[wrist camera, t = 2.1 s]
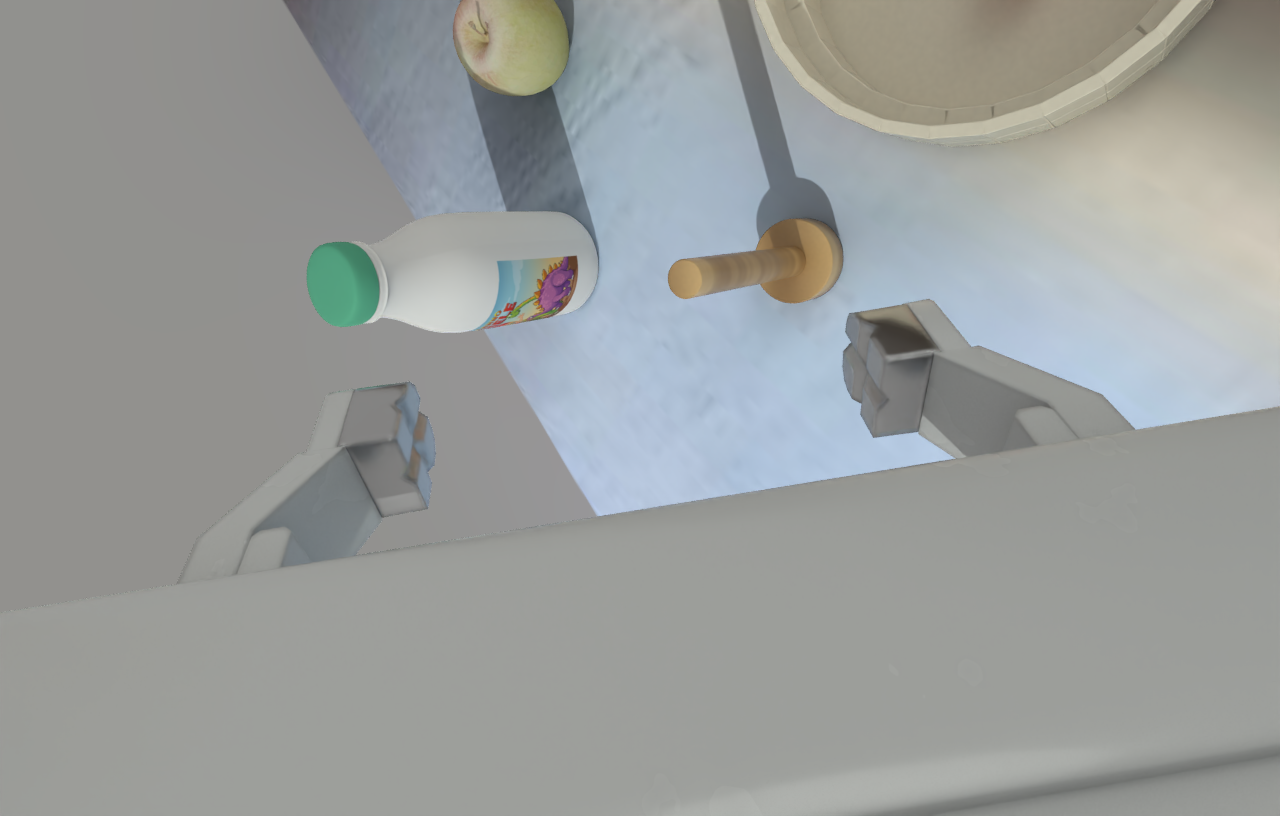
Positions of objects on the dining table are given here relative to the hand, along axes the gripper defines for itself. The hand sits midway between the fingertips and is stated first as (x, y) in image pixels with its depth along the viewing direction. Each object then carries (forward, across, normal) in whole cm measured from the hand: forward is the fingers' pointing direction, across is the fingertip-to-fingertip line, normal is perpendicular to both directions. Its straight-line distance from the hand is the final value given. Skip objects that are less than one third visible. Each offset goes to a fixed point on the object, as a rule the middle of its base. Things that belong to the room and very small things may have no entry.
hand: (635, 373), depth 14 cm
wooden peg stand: (+28, -12, +15) cm, 34 cm away
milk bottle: (+39, +3, +19) cm, 44 cm away
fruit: (+46, +2, +6) cm, 47 cm away
